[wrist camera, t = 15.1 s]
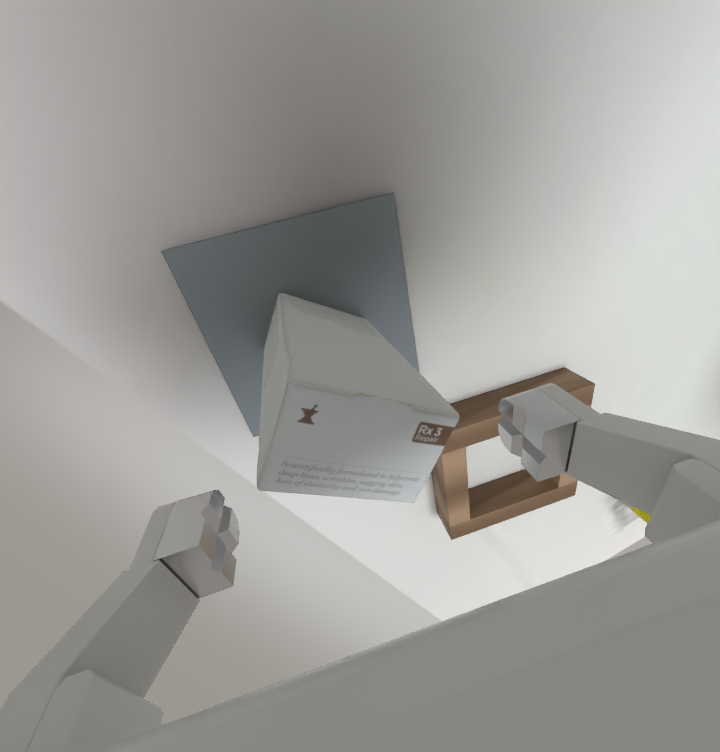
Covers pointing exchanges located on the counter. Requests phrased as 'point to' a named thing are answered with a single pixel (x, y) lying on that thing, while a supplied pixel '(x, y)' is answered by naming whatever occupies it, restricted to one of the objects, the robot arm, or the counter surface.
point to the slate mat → (294, 284)
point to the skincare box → (344, 409)
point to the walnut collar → (506, 494)
